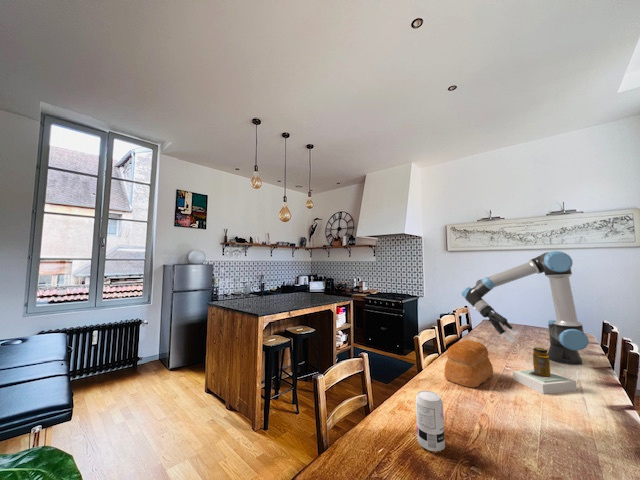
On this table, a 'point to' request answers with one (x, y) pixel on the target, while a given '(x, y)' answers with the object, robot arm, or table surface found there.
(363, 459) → the table surface
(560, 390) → the riser
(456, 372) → the bread
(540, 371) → the condiment
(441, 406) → the supplement can
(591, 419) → the table surface
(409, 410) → the table surface
